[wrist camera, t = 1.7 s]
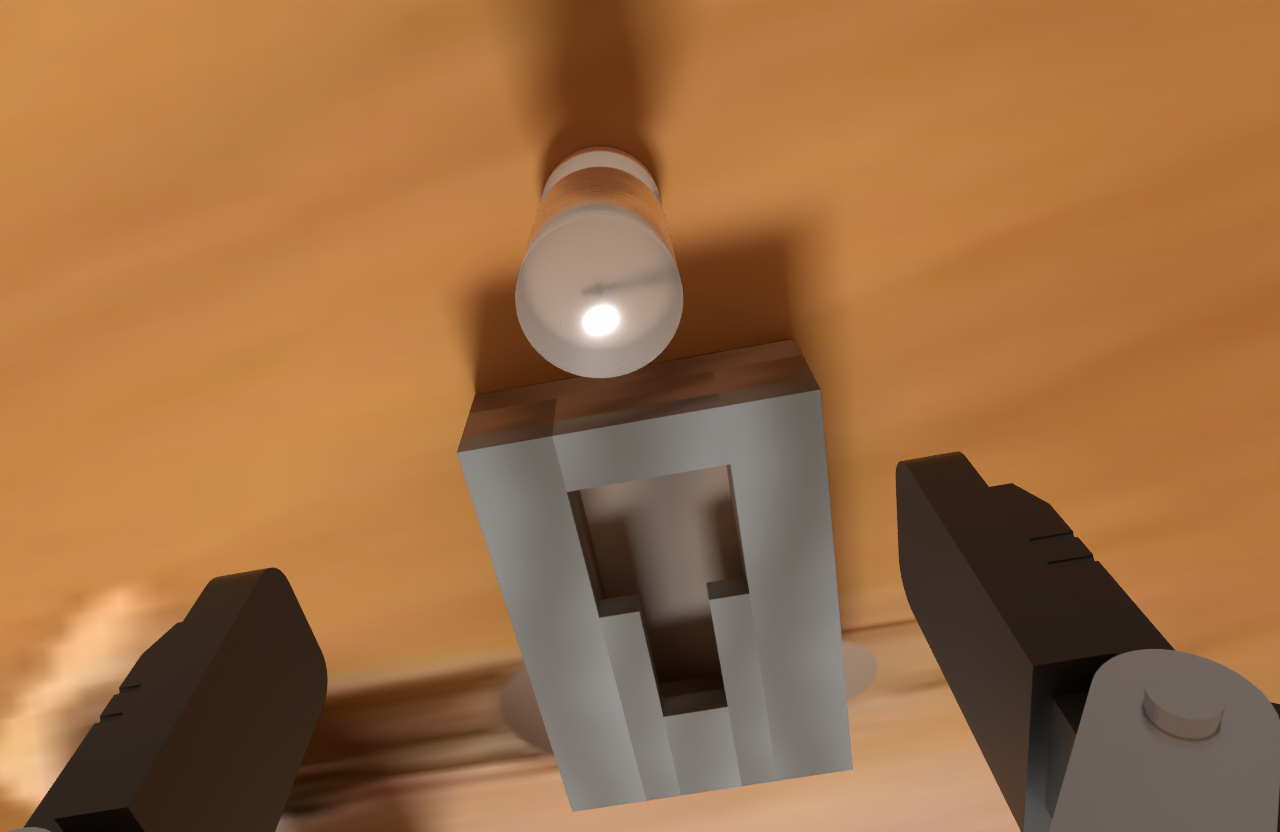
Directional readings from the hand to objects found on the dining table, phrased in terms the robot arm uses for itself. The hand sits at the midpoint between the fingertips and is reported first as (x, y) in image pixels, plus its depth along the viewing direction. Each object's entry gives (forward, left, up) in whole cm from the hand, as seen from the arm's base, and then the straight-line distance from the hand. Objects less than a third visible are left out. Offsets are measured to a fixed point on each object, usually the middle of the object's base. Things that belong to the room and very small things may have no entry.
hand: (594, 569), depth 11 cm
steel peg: (0, 0, -20) cm, 20 cm away
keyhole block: (0, +15, -20) cm, 25 cm away
